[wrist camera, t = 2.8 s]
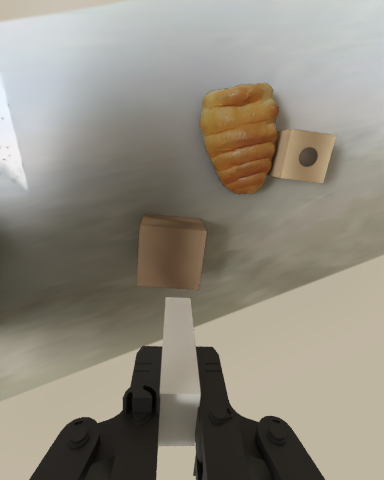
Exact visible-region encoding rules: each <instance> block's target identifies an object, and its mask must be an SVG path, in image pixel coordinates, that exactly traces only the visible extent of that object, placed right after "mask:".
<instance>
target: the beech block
mask: <svg viewBox="0 0 384 480" xmlns="http://www.w3.org/2000/svg"><path fill="white" fill-rule="evenodd" d="M277 134H278V138H277V140H276V141H275V152H274V155H273V157H272V161H271V163H272V166H271V169H270V170H269V171H268V173H267V175H270V176H274V177H278V178H284V179H292V180H300V181H309V182H317V183H323V182H324V178H325V175H326V171H327V168H328V164H329V160H330V157H331V153H332V150H333V146H334V142H335V139H336V135H330V134H323V133H316V132H309V131H302V130H295V129H289V130H283V131H278V132H277Z"/></svg>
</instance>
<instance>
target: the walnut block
mask: <svg viewBox="0 0 384 480" xmlns="http://www.w3.org/2000/svg"><path fill="white" fill-rule="evenodd" d="M206 235H207V230H206V228H205V226H204V223H203V221H202V219H194V218H183V217H172V216H161V215H150V214H144V217H143V219H142V221H141V223H140V228H139V248H138V268H137V286H146V287H161V288H177V289H192V290H199V286H200V278H201V271H202V264H203V257H204V249H205V242H206Z"/></svg>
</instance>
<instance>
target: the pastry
mask: <svg viewBox="0 0 384 480" xmlns="http://www.w3.org/2000/svg"><path fill="white" fill-rule="evenodd" d="M272 93H273V89H272V87H271V86H270V85H269V84H267V83H258V84H247V85H238V86H235V87H233V88H231V89H227V88H226V89H223V90H222V89H219V90H213V91H210V92H209V93H208V94H207V95H206V96H205V97H204V100H203V104H202V113H201V118H200V128H201V131H202V134H203V138H204V142H205V147H206V151H207V153H208V155H209V157H210V160H211V162H212V163H213V166H214V169H215V170H216V173H217V175H218V177H219V179H220V181H221V182H222V183H223V185H224V186H225V187H226V188H228V189H229V190H230V191H232V192H233V193H236V194H245V193H256V192H257V191H258V190H259V188H260V187H261V186H262V185H263V184H264V182H265V180H266V176H267V173H268V171H269V170H270V169H271V166H272V163H271V161H272V157H273V155H274V152H275V141H276V140H277V138H278V134H277V129H276V123H275V119H276V117H277V116H278V113H279V110H278V106H277V104H276V103H275V101H274V99H273V96H272Z"/></svg>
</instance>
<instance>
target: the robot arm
mask: <svg viewBox="0 0 384 480" xmlns="http://www.w3.org/2000/svg"><path fill="white" fill-rule="evenodd" d="M195 443H196V458H195V466H194V474H193V475H194V476H196V480H325V479H324V477H323V476H322V474H321V473H320V471H319V469H318V468H317V467H316V465H315V463H314V462H313V460H312V459H311V457H310V456H309V454H308V453H307V451H306V450H305V448H304V447H303V445H302V444H301V442H300V441H299V439H298V437H297V436H296V434H295V433H294V431H293V430H292V428H291V427H290V426H289V425H288V424H287V423H286V422H285V421H283V420H282V419H280V418H278V417H275V416H266V417H264V418H262V419H261V420H260V422H256V421H253V420H250V419H247V418H245V417H242V416H241V415H239V414H238V413H237V412H236V411H235V410H234V409H233V408H232V407H231V405H230V403H229V400H228V396H227V391H226V387H225V382H224V377H223V373H222V368H221V365H220V359H219V355H218V353H217V352H216V350H215V349H214V348H213V347H196V345H195V336H194V327H193V318H192V309H191V299H190V298H175V297H166V299H165V315H164V331H163V347H157V346H142V347H141V349H140V350H139V351H138V353H137V355H136V360H135V366H134V372H133V376H132V382H131V387H130V388H129V389H128V390H127V391H126V392H125V395H124V397H123V410H122V412H121V413H120V414H118V415H117V416H115V417H114V418H111V419H109V420H106V421H103V422H100V423H97V422H96V421H95V420H94V419H92V418H89V417H82V418H78V419H75V420H73V421H72V422H70V423H69V424H67V425H66V426H65V427H64V429H63V430H62V431H61V432H60V434H59V435H58V437H57V438H56V440H55V441H54V443H53V444H52V446H51V447H50V449H49V450H48V452H47V454H46V455H45V456H44V458H43V460H42V461H41V463H40V464H39V466H38V467H37V469H36V470H35V472H34V473H33V475H32V476H31V478H30V479H29V480H156V470H157V451H158V446H194V445H195Z"/></svg>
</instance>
